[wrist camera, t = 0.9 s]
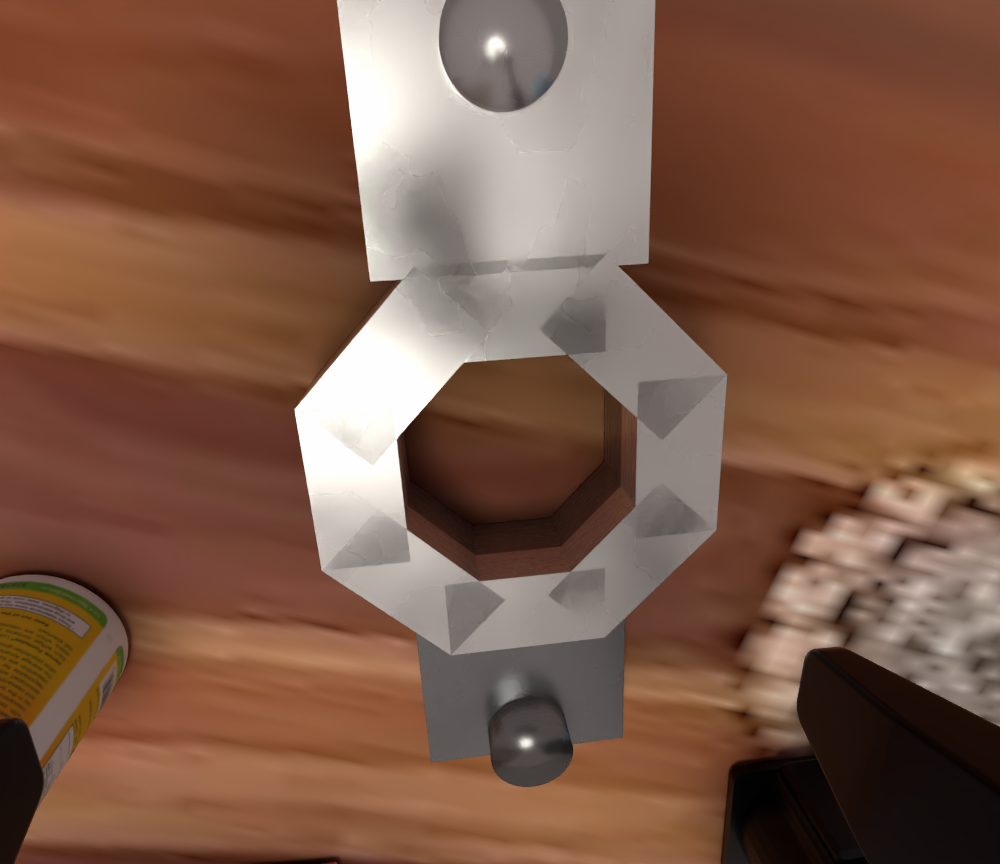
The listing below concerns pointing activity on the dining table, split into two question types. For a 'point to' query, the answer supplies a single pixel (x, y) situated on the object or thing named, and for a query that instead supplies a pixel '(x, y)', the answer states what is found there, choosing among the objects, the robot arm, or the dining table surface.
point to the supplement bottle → (56, 662)
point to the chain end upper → (507, 308)
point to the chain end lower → (523, 648)
